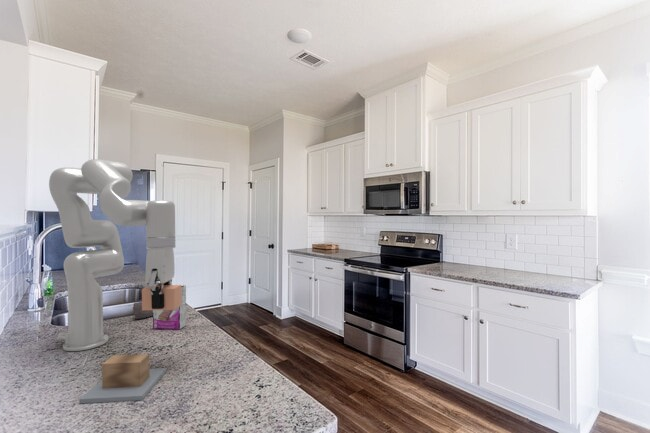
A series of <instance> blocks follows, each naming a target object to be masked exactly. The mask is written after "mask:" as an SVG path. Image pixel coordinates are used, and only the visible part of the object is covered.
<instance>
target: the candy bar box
mask: <svg viewBox="0 0 650 433" xmlns="http://www.w3.org/2000/svg"><path fill="white" fill-rule="evenodd" d="M180 285H181V306H179V307H178V308H176V309H175V310H153V316H152V329H153V330H177V331H178V330H179V331H180V330H182V329H183V328H185V327H186V326H187V295H186V294H187V286H186V284H180Z"/></svg>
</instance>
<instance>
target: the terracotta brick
mask: <svg viewBox="0 0 650 433" xmlns="http://www.w3.org/2000/svg"><path fill="white" fill-rule="evenodd" d="M181 285H182V284H172V285H163V294H164V308H163V309H152V296H151V290H150V287H149V285H148V286H145V287H144V288H142V289H141V302H142V310H175V309H176V308H178V307H179V306H181ZM158 287H159V289H160V286H158Z"/></svg>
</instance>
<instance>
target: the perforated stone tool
mask: <svg viewBox="0 0 650 433" xmlns="http://www.w3.org/2000/svg"><path fill="white" fill-rule="evenodd" d="M132 309H133V314H134V315H133V316H134V317H135V319H136V320H138V319H139V320H141V319H146V317H147V318H151V317H153V310H142V301H140V302H134V303H133V306H132ZM150 316H151V317H150Z"/></svg>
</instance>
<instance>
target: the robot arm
mask: <svg viewBox="0 0 650 433" xmlns="http://www.w3.org/2000/svg"><path fill="white" fill-rule="evenodd" d="M132 181H133V171H132V169H131V168H130V166H129V165H128V164H126V163H124V162H121V161H114V160H108V159H107V160H106V159H101V158H97V159H95V158H94V159H89V160H87V161H85V162H84V163H82V166H81V167H79V168H78V167H59V168H57V169H54V170H53V171H52V172H51V174H50V176H49V181H48V187H49V192H50V195H51V198H52V200H53V202H54V204H55V205H56V207H57V209H58V215H59V218H60V219H59V220H60V225H61V230H62V231H61V232H62V235H63V239H64V243H65V244H66V246H67V247H68V248H73V249H85V248H95V247H99V248H100V249H90V250H81V251H77V252H72V253H70V254H69V255H67V256H66V257H65V259H64V261H63V271H64V274H65V275H64V276H65V279H66V280H65V281H66V284H67V286H66V287H67V303H68V304H67V314H68V319H67V320H68V323H67V324H68V325H67V327H68V331H66V332H64V331H62V332H59V333H58V335H57V337H56V339H57V340H56V341H63V340H64V343H63V344H62V350H63V351H66V352H80V351H81V352H82V351H87V350H90V349H91V350H92V349H95V348H97V347H100V346H101V347H102V345H105V344H107V342H108V341H109V340H110V339H109V335H108V334H104V302H103V300H104V298H103V297H104V295H103V287H102V286H101V285H100V284H99V283H98V281H97V280H96V279H97V278H100V277H107V276H112V275H116V274H119V273H120V272H122V270H123V269H124V267H125V257H124V254H123V253H124V252H123V248H122V242H121V238H120V234H119V229H118V228H117V226H120V227H138V226H144V227H146V228H145V230H146V234H145V235H146V250H147V251H146V258H145V272H144V273H145V274H144V276H145V277H144V278H145V279H144V281H145V282H144V283H145V284H146V285H148V286H149V287H150V290H151V296H152V309H163V308H164V294H163V285H173V284H172V282H173V279H174V277H175V255H174V253H175V251H174V249H175V248H176V205H175V203H174V201H171V200H141V199H140V200H139V199H125V198H126V197H128V196H129V194H130V193H131V190H132V186H131V183H132ZM78 194H87V195H88V194H91V195H99V208H100V211H101V212H102V214H103V215H104V216H105V217H106V218H107V219H108V220H107V219H93V218H92V215H91V210H90V209H91V208H90V206H89V205H88V203H86V201H85V200H84V199H83V198H82V197H80V196H79V195H78ZM116 225H117V226H116ZM158 286H160V289H159V287H158Z"/></svg>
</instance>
